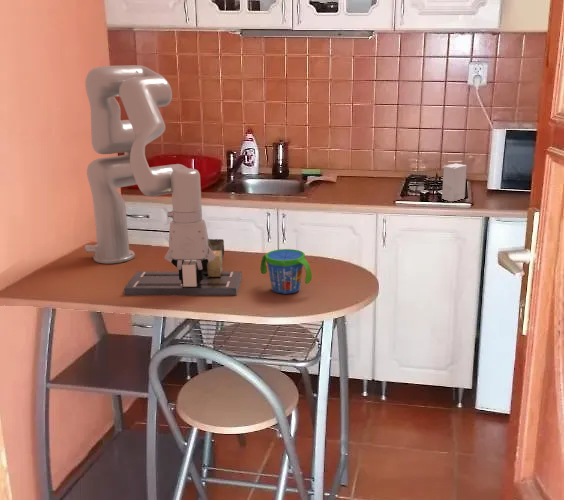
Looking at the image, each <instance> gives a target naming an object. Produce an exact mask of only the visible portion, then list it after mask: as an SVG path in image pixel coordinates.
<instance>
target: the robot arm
mask: <svg viewBox="0 0 564 500" xmlns="http://www.w3.org/2000/svg"><path fill="white" fill-rule="evenodd" d="M84 85H85V91H86V95H87V98H88V102H89V106H90V107H89V108H90V134H91V135H90V136H91V137H90V138H91V146H92V149H93V151H94V152H95V153H96V154H100V155H112V154H122V153H124V154H122V155H114V156H113V155H112V156H108V157H106V156H105V157H101V158H96V159H94V160H92V161H90V162H89V163H88V165H87V168H86V175H87V176H86V177H87V181H88V183H89V187H90V192H91V196H92V197H91V198H92V204H93V213H94V221H95V222H94V223H95V224H94V225H95V233H96V243H95V244H94V245H92V244H87V245H84V251H85V252H86V253H88V254H90V253H91V254H92V253H94V255H93V261H94V262H96V263H99V264H100V263H101V264H105V265H106V264H112V265H113V264H121V263H124V262H125V263H126V262H128V261H132V259H134V258H135V256H136V254H135V252H134V250H131V249H130V245H129V244H130V243H129V235H128V234H129V232H128V220H127V209H126V208H127V207H126V201H125V199H124V197H123V196H122V195H121V193H120V192H119V191H118V190H117V189H119V188H124V187H130V186H135V185H137V187H138V189H139V191H140V192H141V193H142V194H143V195H144V196H146V197H150V198H151V197H157V196H158V197H159V196H162V195H168V194H169V195H170V194H171V202H172V203H171V205H172V210H171V211H167V215H166V216H167V218H171V219H172V221H170V224H169V232H168V233H169V235H168V250H167V252H166V254H165V255H164V260H166V261H167V262H169V263H171V264H172V265H173V266H175V268H176V269H177V271H179V280H181V284H183V273H182V264H183V263H184V261H185V260H196V261H197V266H198V267H197V270H196V276H197V284H200V282H201V280H203V267H204V266H205V265H206V264H207V263H208V262H210V261H212V260H214V259H215V254H214V253H213V252H212V250H211V249H210V247H209V241H208V239H209V235H208V234H209V233H208V228H207V225H206V220H205V219H203V208H202V187H201V174H200V172H199V170H198V169H195V168H191V167H190V168H188V167H187V166H185V165H183V164H180V163H176V164H174V163H173V164H167V165H157V166H151V167H150V166H149V163H148V161H147V158H146V146H147V145H148V144H150V143H151V142H153V141H155V140H156V139H158V138H160V137H161V136H162V135H163V134H164V133H165V131H166V123H165V121H164V118H163V116H162V114H161V111H160V109H159V108H161V107H162V108H163V107H167V106H168V105H170V104H171V101H172V99H173V92H172V91H173V89H172V87H171V85H170V83H169V81H168V80H167V79H166V78H165V77H164V76H163V75H162V74H160V73H158V72H156V71H154V70H152V69H151V68H149V67H147V66H144V65H139V64H138V65H137V64H136V65H134V64H132V65H131V64H129V65H104V66H102V65H101V66H98V67H94V68H92V69H90V70H89V71H88V72H87V74H86V77H85V84H84ZM116 97H120V100H121V102H122V105H123V108H124V110H125V113H126V116H127V118H128V119H123V120H121V115H122V114H121V113H122V112H121V111H122V110H121V106H120V104H119V101H118V100H117V99H116ZM207 256H208V257H207ZM206 257H207V258H206ZM203 259H204V260H203Z"/></svg>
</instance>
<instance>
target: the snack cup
mask: <svg viewBox="0 0 564 500" xmlns="http://www.w3.org/2000/svg"><path fill="white" fill-rule="evenodd" d="M303 266H304V267H303ZM303 268H304V270H305V279H304V284H306V285H307V284H309V283H310V282H311V280H312V276H313V275H312V270H311V266H310V263H309V262H308V260H307V258H306V253H304V252H303V251H302V250H299V249H291V248H283V249H281V248H280V249H274V250H271V251H268V252H267V253H266V254H264V255H263V256H262V258H261V261H260V274H262V275H265V274H267V273H268V275H269V280H270V285H271V289H272V291H273V292H274V293H277V294H284V295H288V294H294V293H298V292H299V290H300V288H301V282H302V275H303Z"/></svg>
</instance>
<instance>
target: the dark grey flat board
mask: <svg viewBox="0 0 564 500" xmlns="http://www.w3.org/2000/svg"><path fill="white" fill-rule="evenodd" d="M241 281H242V271H239V270H237V271H234V270H231V271H228V270H224V271H222V274H221V276H220V277H208V271H203V280H201V282H200V284H197V286H196V287H183V284H181V280H179V270H177V271H176V270H175V271H172V270H171V271H170V270H169V271H167V270H166V271H161V270H160V271H156V270H155V271H152V270H151V271H147V270H146V271H145V270H143V271H136V272H135V273H134V274H133V276H132V277H131V278H130V280H128V282H127V284H125V286H124V288H123V293H124V296H237V294H238V291H239V288H240V284H241Z"/></svg>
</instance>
